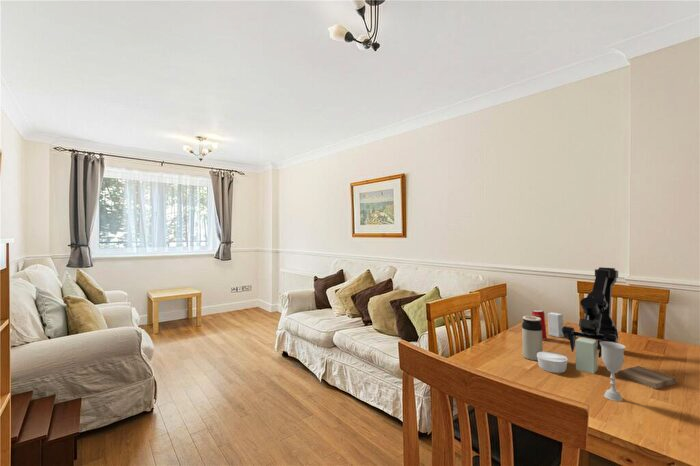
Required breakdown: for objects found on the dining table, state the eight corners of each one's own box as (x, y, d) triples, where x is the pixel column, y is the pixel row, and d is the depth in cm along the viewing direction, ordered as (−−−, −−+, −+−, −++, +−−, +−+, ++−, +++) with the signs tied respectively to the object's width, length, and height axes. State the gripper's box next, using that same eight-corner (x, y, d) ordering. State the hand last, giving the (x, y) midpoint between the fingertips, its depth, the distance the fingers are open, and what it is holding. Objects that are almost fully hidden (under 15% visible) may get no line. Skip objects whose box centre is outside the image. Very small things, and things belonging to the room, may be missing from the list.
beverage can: (548, 340, 173) (547, 311, 173) (534, 340, 174) (534, 311, 174) (544, 337, 178) (543, 309, 178) (531, 336, 180) (530, 308, 180)
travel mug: (523, 359, 148) (522, 319, 148) (521, 353, 155) (521, 315, 155) (544, 361, 145) (543, 320, 145) (541, 355, 152) (540, 316, 152)
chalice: (595, 392, 117) (594, 341, 117) (613, 391, 117) (612, 340, 117) (613, 403, 110) (612, 349, 110) (632, 402, 110) (631, 348, 110)
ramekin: (557, 376, 130) (557, 363, 130) (530, 366, 140) (530, 354, 140) (574, 370, 136) (573, 358, 136) (547, 361, 145) (546, 349, 145)
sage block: (580, 365, 141) (579, 337, 141) (597, 369, 136) (596, 340, 136) (575, 369, 137) (575, 340, 137) (593, 373, 132) (593, 343, 132)
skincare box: (564, 336, 179) (563, 314, 179) (558, 337, 177) (558, 315, 177) (552, 333, 184) (552, 311, 184) (547, 334, 182) (547, 312, 182)
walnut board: (638, 370, 134) (638, 366, 134) (675, 383, 123) (675, 378, 123) (618, 375, 130) (618, 370, 130) (656, 389, 119) (655, 383, 119)
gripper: (562, 307, 146) (554, 338, 139) (616, 314, 132) (610, 349, 125) (568, 322, 151) (561, 352, 144) (620, 330, 137) (615, 364, 130)
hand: (585, 354), depth 136 cm, fingers open, 9 cm apart
